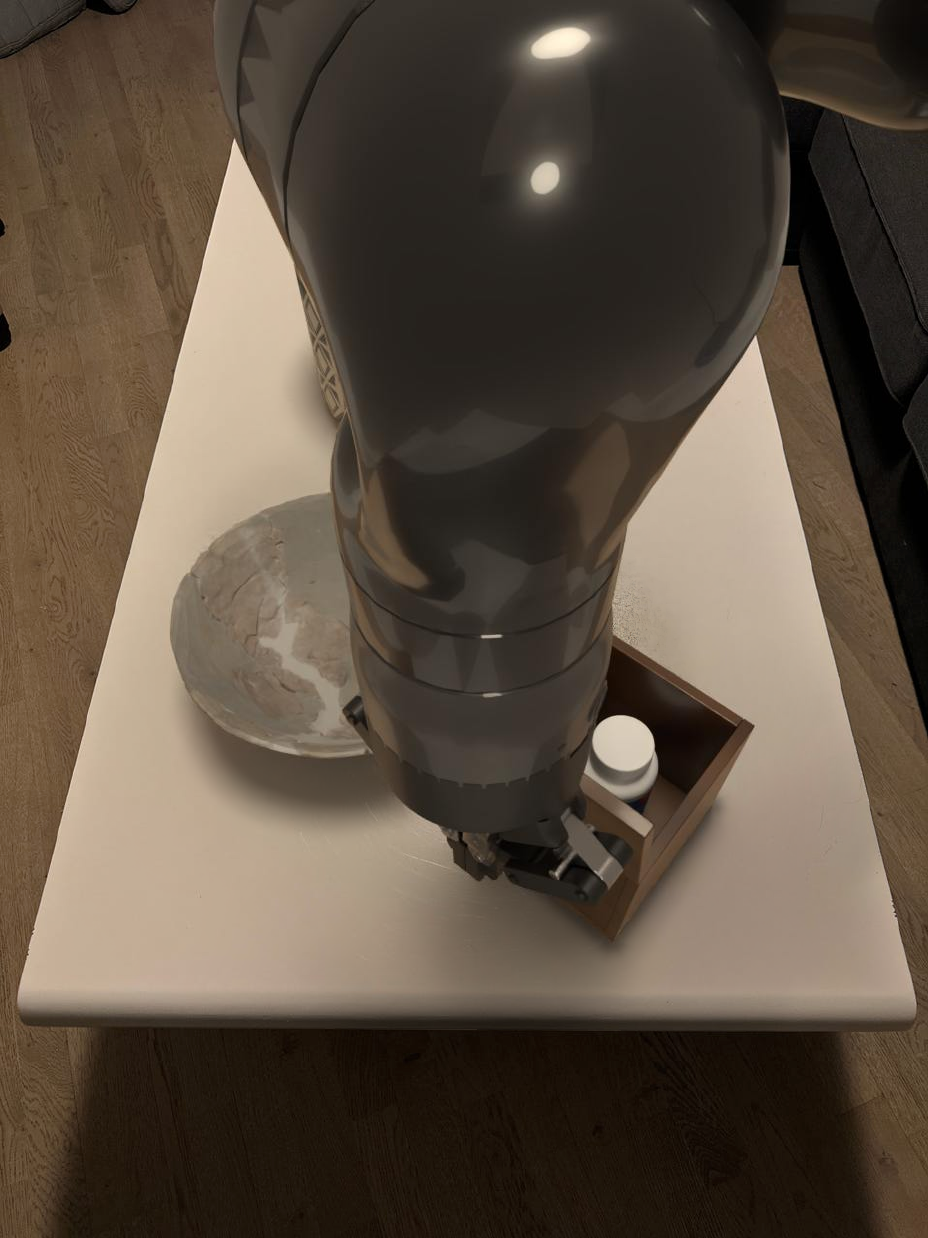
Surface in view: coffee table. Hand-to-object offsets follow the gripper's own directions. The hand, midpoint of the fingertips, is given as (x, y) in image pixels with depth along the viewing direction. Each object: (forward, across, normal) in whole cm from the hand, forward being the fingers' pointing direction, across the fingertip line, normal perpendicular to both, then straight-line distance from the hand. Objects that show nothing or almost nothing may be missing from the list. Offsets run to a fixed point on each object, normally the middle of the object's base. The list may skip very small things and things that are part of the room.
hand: (481, 857), depth 43 cm
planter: (+23, -39, +39) cm, 60 cm away
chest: (+23, 0, +14) cm, 27 cm away
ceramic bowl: (+23, -22, +11) cm, 34 cm away
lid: (+3, 0, +6) cm, 7 cm away
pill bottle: (+22, 0, +15) cm, 27 cm away
